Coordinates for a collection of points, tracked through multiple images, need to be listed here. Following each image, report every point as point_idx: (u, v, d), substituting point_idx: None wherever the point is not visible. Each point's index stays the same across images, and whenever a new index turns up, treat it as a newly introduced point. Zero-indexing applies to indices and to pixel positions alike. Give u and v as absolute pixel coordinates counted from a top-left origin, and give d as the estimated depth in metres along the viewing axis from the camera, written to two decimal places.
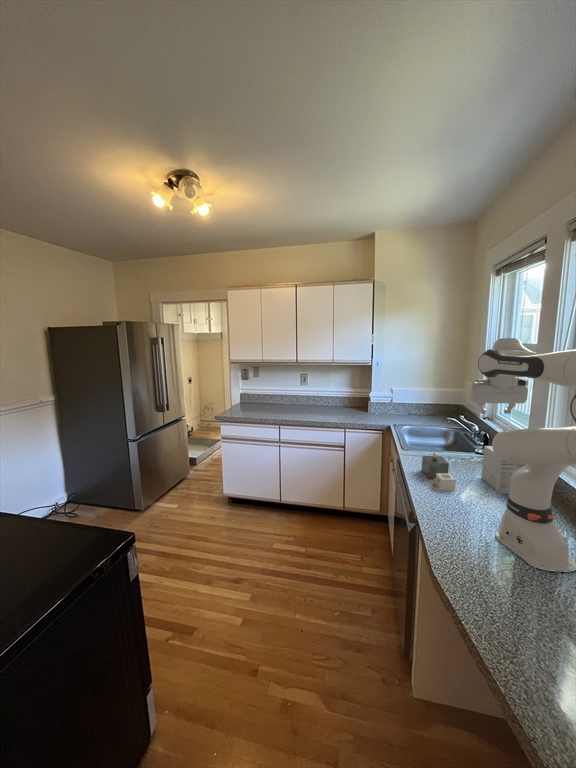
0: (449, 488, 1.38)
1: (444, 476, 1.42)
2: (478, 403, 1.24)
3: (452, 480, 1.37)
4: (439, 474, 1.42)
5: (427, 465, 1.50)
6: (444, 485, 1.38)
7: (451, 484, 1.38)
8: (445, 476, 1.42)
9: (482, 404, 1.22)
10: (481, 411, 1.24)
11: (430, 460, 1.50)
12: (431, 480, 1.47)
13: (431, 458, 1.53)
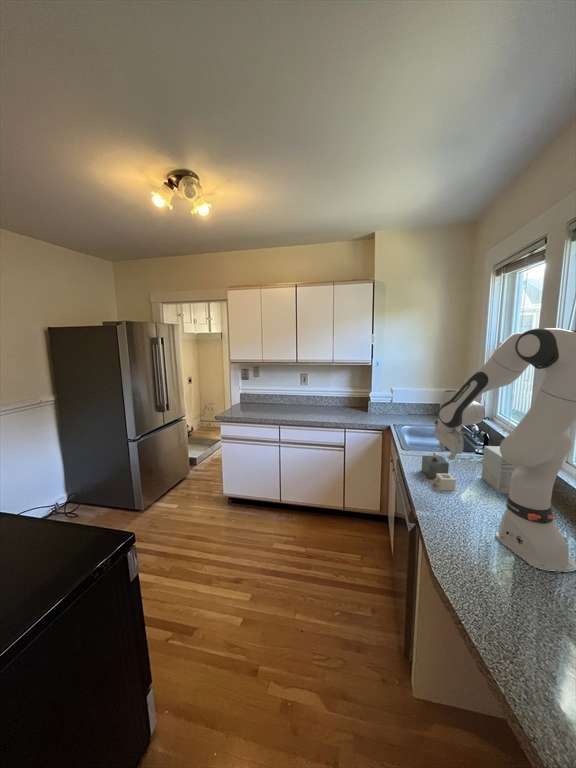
0: (449, 488, 1.38)
1: (444, 476, 1.42)
2: (452, 452, 1.32)
3: (452, 480, 1.37)
4: (439, 474, 1.42)
5: (427, 465, 1.50)
6: (444, 485, 1.38)
7: (451, 484, 1.38)
8: (445, 476, 1.42)
9: None
10: (453, 458, 1.34)
11: (430, 460, 1.50)
12: (431, 480, 1.47)
13: (431, 458, 1.53)
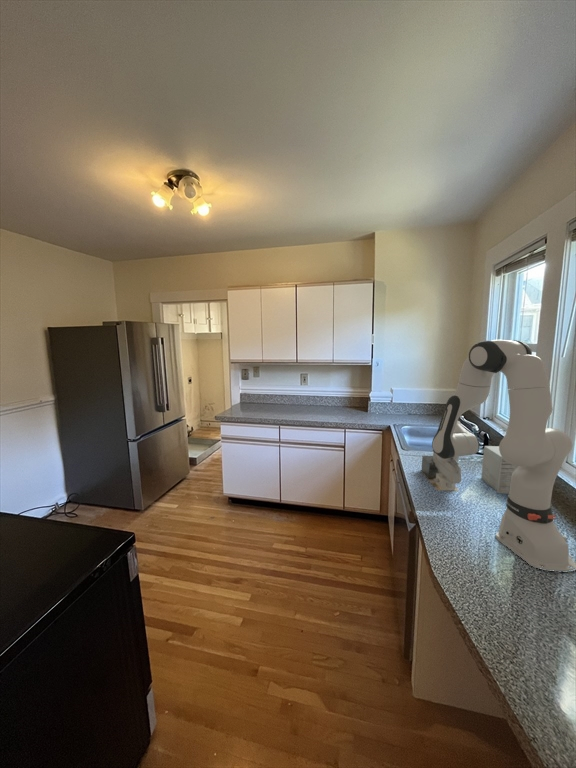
0: (449, 488, 1.38)
1: (444, 476, 1.42)
2: (449, 481, 1.35)
3: None
4: (439, 474, 1.42)
5: (427, 465, 1.50)
6: (444, 485, 1.38)
7: None
8: None
9: None
10: (450, 486, 1.36)
11: (430, 460, 1.50)
12: (431, 480, 1.47)
13: (431, 458, 1.53)
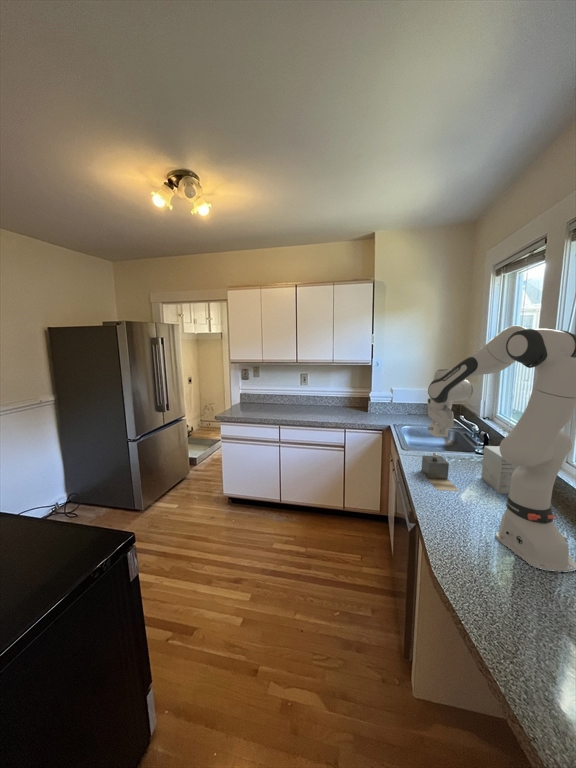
0: (443, 435, 1.45)
1: (438, 425, 1.49)
2: (443, 427, 1.41)
3: None
4: (433, 423, 1.49)
5: (427, 465, 1.50)
6: (437, 432, 1.45)
7: None
8: (439, 425, 1.49)
9: None
10: (443, 433, 1.43)
11: (430, 460, 1.50)
12: (431, 480, 1.47)
13: (431, 458, 1.53)
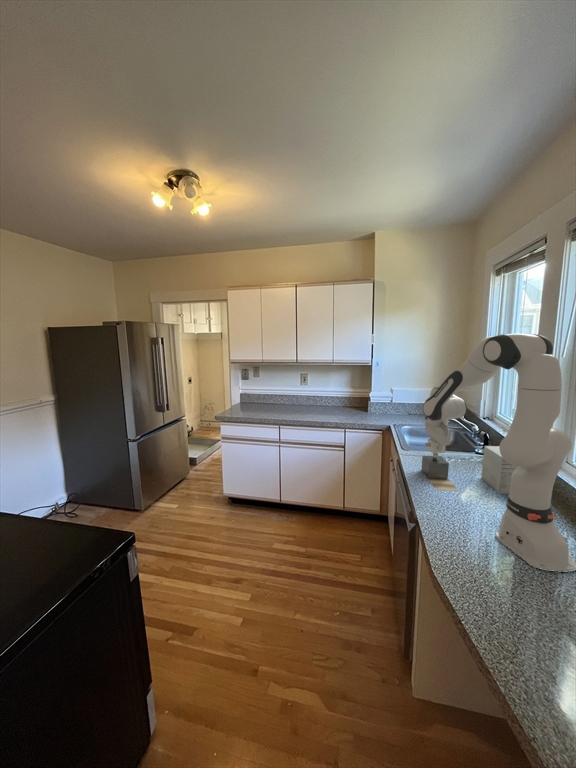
0: (440, 451, 1.48)
1: (435, 441, 1.52)
2: (440, 443, 1.45)
3: None
4: (430, 439, 1.52)
5: (427, 465, 1.50)
6: (434, 448, 1.48)
7: None
8: (436, 441, 1.52)
9: None
10: (440, 449, 1.46)
11: (430, 460, 1.50)
12: (431, 480, 1.47)
13: (431, 458, 1.53)
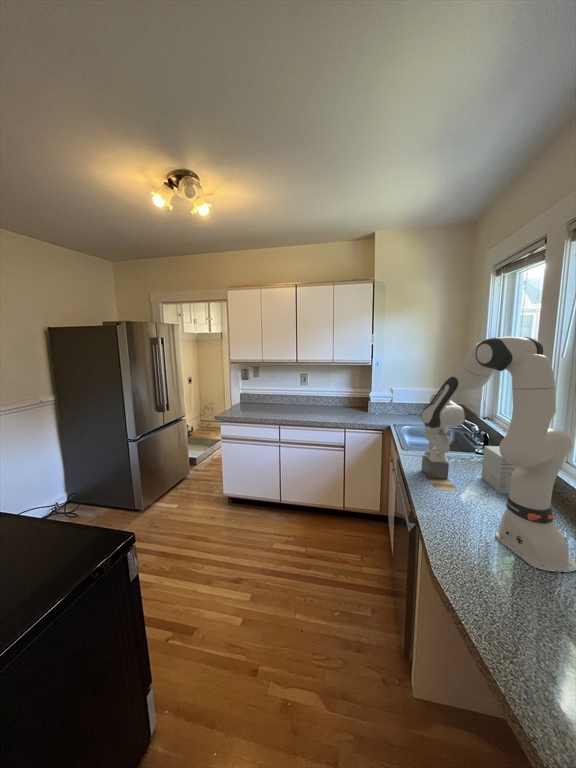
0: (439, 460, 1.49)
1: (435, 450, 1.53)
2: (440, 451, 1.44)
3: None
4: (430, 448, 1.53)
5: (427, 465, 1.50)
6: (434, 457, 1.49)
7: None
8: (435, 450, 1.53)
9: None
10: (441, 457, 1.46)
11: None
12: (431, 480, 1.47)
13: None
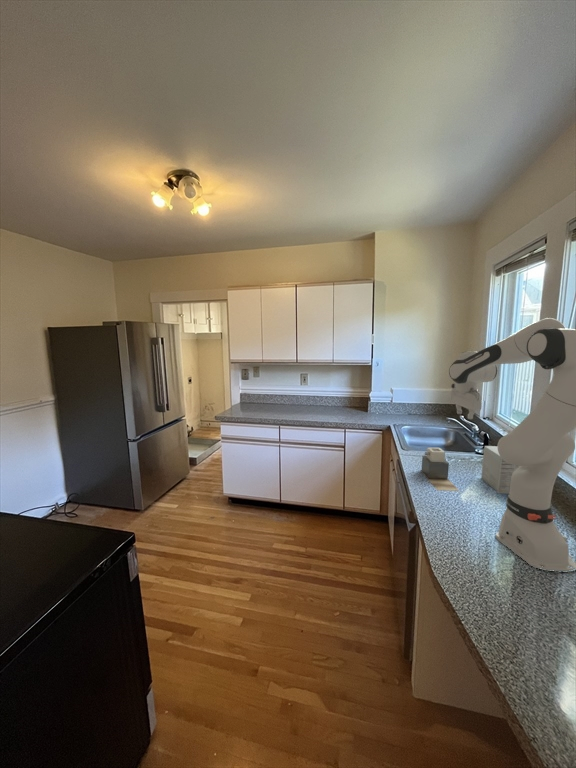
0: (439, 460, 1.49)
1: (435, 450, 1.53)
2: (471, 411, 1.37)
3: (442, 453, 1.48)
4: (430, 448, 1.53)
5: (427, 465, 1.50)
6: (434, 457, 1.49)
7: (441, 456, 1.48)
8: (435, 450, 1.53)
9: None
10: (471, 417, 1.39)
11: None
12: (431, 480, 1.47)
13: None
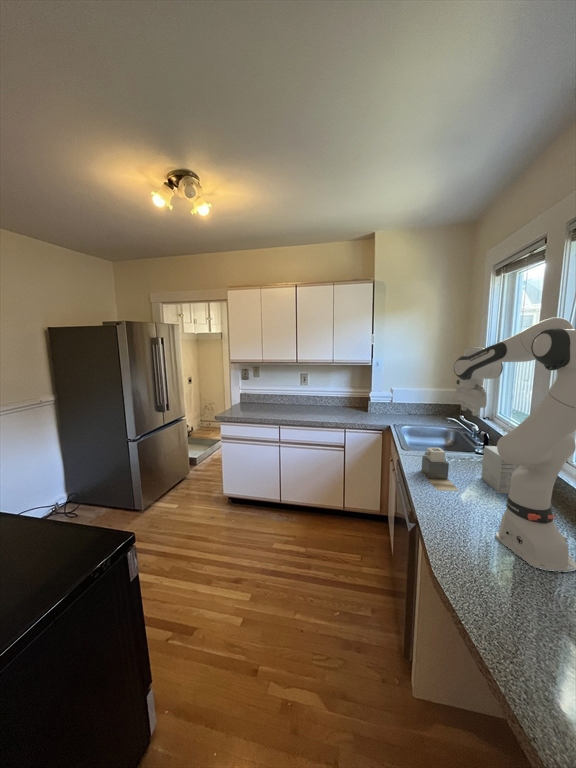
0: (439, 460, 1.49)
1: (435, 450, 1.53)
2: (476, 408, 1.36)
3: (442, 453, 1.48)
4: (430, 448, 1.53)
5: (427, 465, 1.50)
6: (434, 457, 1.49)
7: (441, 456, 1.48)
8: (435, 450, 1.53)
9: None
10: (476, 414, 1.38)
11: None
12: (431, 480, 1.47)
13: None
